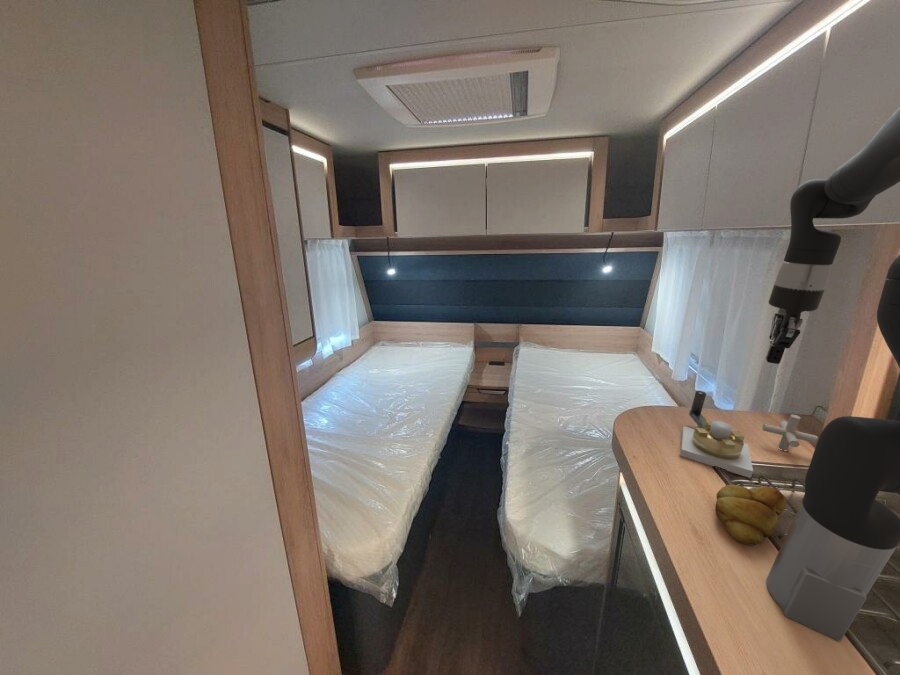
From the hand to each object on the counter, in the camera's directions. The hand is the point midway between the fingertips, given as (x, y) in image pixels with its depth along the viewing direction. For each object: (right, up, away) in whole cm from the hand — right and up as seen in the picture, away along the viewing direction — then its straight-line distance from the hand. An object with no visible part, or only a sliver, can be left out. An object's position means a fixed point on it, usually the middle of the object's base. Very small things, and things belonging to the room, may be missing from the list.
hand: (772, 361), depth 76 cm
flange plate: (-4, -24, +12) cm, 27 cm away
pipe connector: (+15, -24, +13) cm, 31 cm away
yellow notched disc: (-3, -21, +15) cm, 26 cm away
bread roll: (-14, -32, -8) cm, 36 cm away
